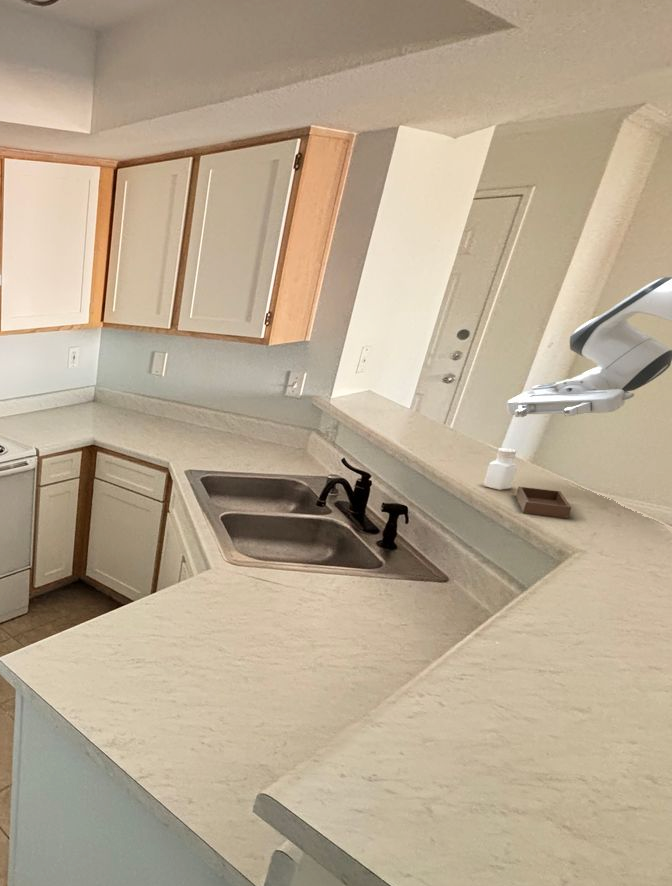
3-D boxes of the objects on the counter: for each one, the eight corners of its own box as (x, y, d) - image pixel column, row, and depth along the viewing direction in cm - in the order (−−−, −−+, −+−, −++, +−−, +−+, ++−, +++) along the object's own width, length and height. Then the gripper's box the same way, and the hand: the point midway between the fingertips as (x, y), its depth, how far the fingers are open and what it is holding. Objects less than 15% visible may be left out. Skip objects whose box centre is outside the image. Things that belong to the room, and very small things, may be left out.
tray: (515, 496, 137) (518, 486, 136) (557, 501, 133) (560, 491, 132) (522, 512, 127) (526, 501, 127) (568, 518, 123) (571, 507, 123)
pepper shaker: (499, 490, 141) (511, 452, 138) (481, 486, 145) (492, 448, 142) (511, 488, 142) (522, 450, 139) (493, 484, 146) (503, 447, 143)
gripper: (639, 405, 134) (602, 425, 131) (529, 409, 153) (494, 426, 150) (638, 379, 133) (600, 398, 129) (527, 386, 152) (491, 402, 149)
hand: (542, 413), depth 140 cm, fingers open, 8 cm apart
